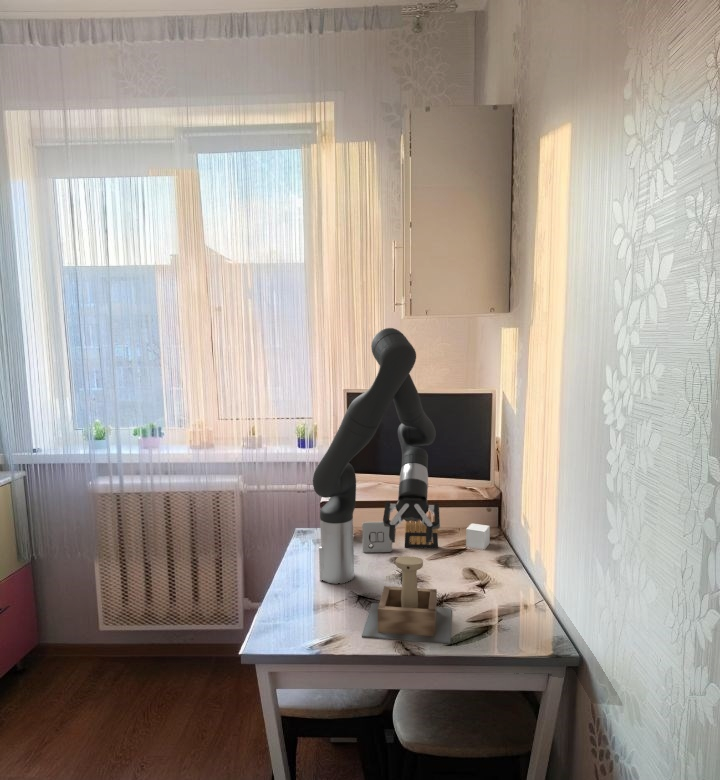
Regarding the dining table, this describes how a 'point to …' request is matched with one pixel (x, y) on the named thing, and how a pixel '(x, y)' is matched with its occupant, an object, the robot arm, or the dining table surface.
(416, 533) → the ammunition clip
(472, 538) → the white cube
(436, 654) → the dining table surface
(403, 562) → the handle
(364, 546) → the electrical switch
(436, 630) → the socket holder
